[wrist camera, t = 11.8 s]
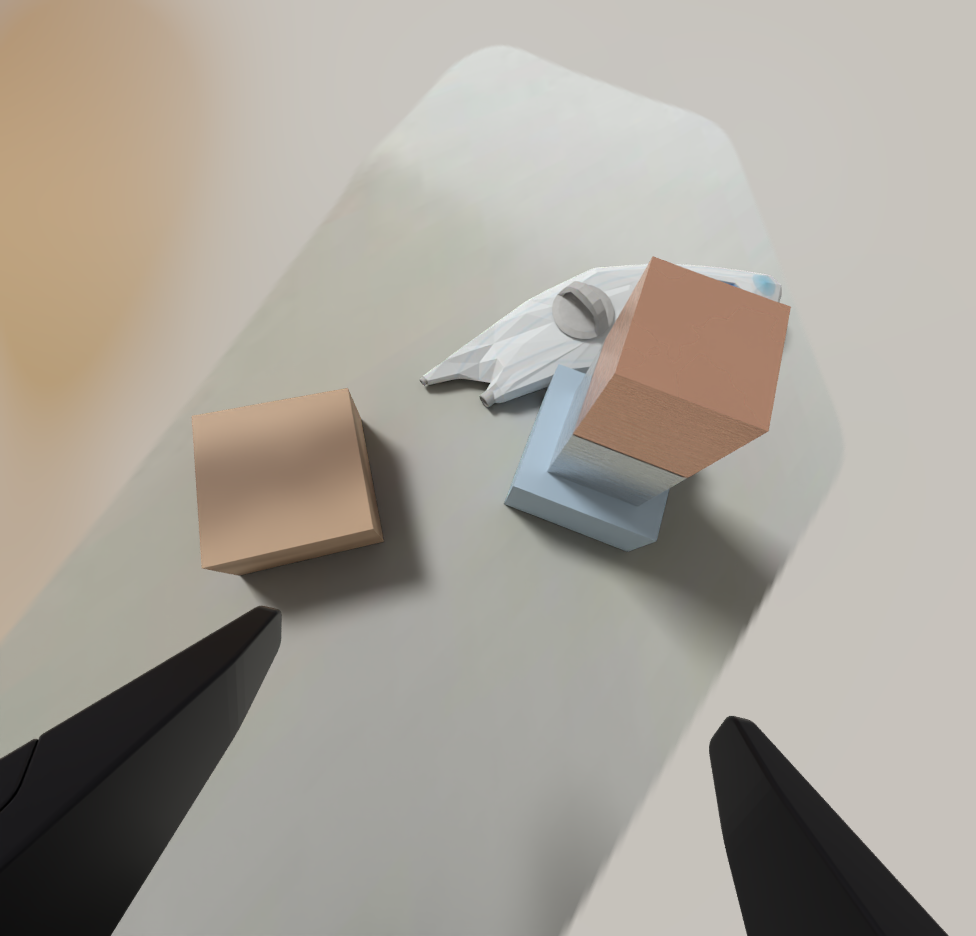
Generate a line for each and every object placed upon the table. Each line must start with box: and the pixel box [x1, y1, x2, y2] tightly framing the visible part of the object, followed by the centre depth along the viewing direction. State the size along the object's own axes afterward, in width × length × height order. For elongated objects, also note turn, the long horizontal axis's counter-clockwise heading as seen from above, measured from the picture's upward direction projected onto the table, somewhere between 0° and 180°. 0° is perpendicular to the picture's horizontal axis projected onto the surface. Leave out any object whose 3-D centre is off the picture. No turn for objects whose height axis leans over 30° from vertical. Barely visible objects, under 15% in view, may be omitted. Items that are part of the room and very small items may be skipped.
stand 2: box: [504, 364, 670, 552], centre depth 23 cm, size 7×7×4 cm
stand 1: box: [192, 388, 384, 576], centre depth 22 cm, size 7×7×4 cm
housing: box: [547, 257, 791, 507], centre depth 17 cm, size 4×4×9 cm
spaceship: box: [420, 264, 781, 407], centre depth 26 cm, size 23×7×4 cm, turn 106°
